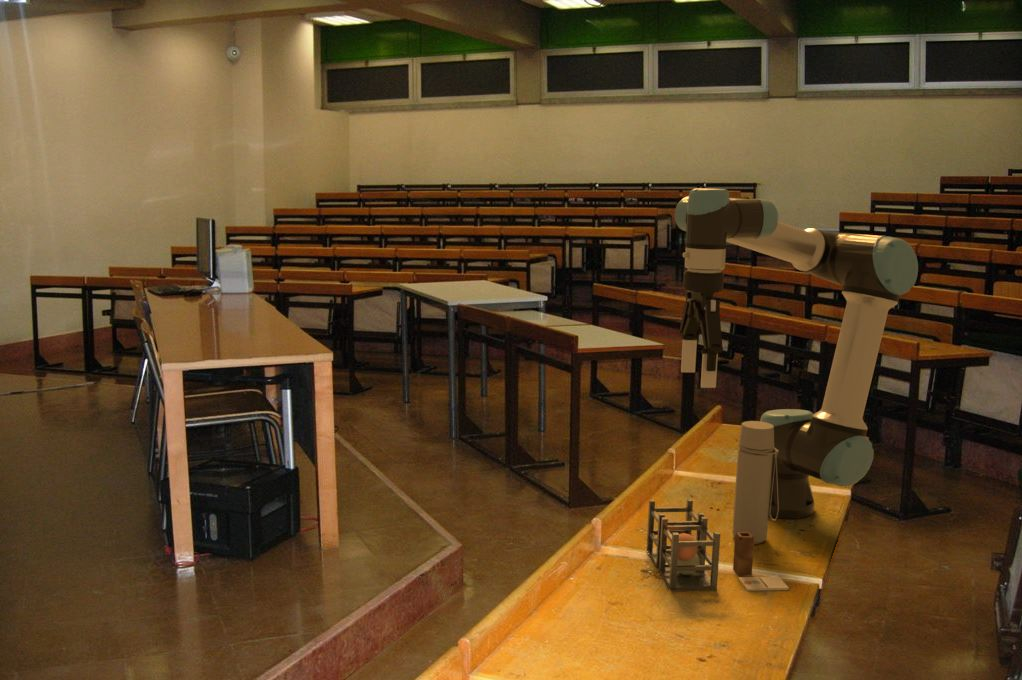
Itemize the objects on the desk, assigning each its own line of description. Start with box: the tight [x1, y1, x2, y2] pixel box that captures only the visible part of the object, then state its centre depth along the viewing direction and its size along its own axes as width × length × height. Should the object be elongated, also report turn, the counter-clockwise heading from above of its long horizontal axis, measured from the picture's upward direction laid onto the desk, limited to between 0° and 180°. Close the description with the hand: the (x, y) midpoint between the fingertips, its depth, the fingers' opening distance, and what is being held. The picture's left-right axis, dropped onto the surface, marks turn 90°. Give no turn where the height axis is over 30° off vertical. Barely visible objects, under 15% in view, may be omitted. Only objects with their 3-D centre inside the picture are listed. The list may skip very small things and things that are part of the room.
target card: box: [737, 576, 790, 592], centre depth 185 cm, size 8×5×1 cm, turn 96°
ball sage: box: [677, 553, 700, 575], centre depth 186 cm, size 5×5×5 cm
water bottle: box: [731, 420, 779, 545], centre depth 205 cm, size 9×8×25 cm
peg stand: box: [732, 532, 755, 576], centre depth 190 cm, size 3×3×8 cm
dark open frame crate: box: [658, 516, 721, 592], centre depth 185 cm, size 9×9×11 cm
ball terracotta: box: [670, 533, 698, 561], centre depth 183 cm, size 5×5×5 cm
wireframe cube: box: [646, 498, 705, 570], centre depth 194 cm, size 9×9×11 cm
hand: (697, 379), depth 190 cm, fingers open, 13 cm apart
